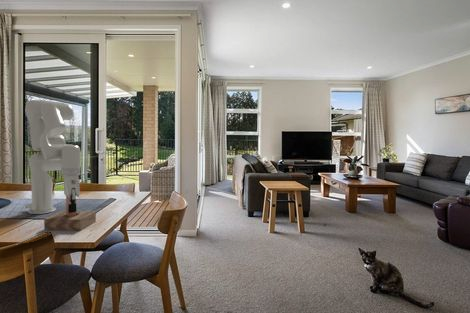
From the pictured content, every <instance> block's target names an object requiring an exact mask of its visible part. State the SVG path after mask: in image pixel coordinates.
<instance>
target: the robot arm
mask: <svg viewBox="0 0 470 313" xmlns="http://www.w3.org/2000/svg"><path fill="white" fill-rule="evenodd" d="M24 108H25V109H24V110H25V115H26V117H27V120H28V122H29V126H30V140H31V141H30V142H31V144H30V145H31V148H32V150H34V152H35V151H36V152H41V153H35V154H33V155H30V156H29V158H28V165H29V170H30V179H31V183H30V184H31V185H30V186H31V203H26V204H25V206H24V208H27V209H28V208H29V209H28V211H27V212H28V214H30V215H42V214H50V213H53V212H55V211H57V207H55V206H54V205H53V201H54V200H53V198H54V197H53V196H54V195H53V178H52V176H51V175H50V174H49V173H48V172H53V171H61V172H60V173H61V176H62V177H63V192H64V196H65V197H66V196H67V197H68V198H69V204H68V212H69V213H73V212H76V211H77V197H78V198H79V197H80V196H81V193H80V188H81V187H80V178H79V177H80V175H81V148H80V146H79V145H75V144H70V143H69V144H68V143H66V142H67V141H66V139H65V137H64V136H63V135H62V134H63V133H64V132H66V130H67V125H66V122H65V121H70V120H72V119H74V116H75V114H74V109H73V107H72V106H71V105H70V104H68V103H64V102H61V101H60V102H59V101H48V100H39V99H33V100H28V101H27V102H26V104H25V107H24ZM70 196H72V197H70ZM71 198H72V199H71Z"/></svg>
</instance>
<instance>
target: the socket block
mask: <svg viewBox="0 0 470 313" xmlns="http://www.w3.org/2000/svg"><path fill="white" fill-rule="evenodd" d="M43 223H44V224H43V229H44V231H71V232H72V231H76V232H82V231H83V230H84V229H87V228H88V227H89V226H91V225H92V224H94V223H96V211H86V210H85V211H83V210H82V211H81V210H78V211H77V210H76V216H75V217H66V210H62V211H59V212H56V213H55V214H51V215H50V216H48V217H44V219H43Z"/></svg>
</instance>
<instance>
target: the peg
mask: <svg viewBox="0 0 470 313" xmlns="http://www.w3.org/2000/svg"><path fill="white" fill-rule="evenodd" d="M70 197H72V196H70ZM71 199H72V198H71ZM68 204H69V198H68V197H67V196H66V195H65V211H66V217H75V216H76V212H73V213H69V212H68Z"/></svg>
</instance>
